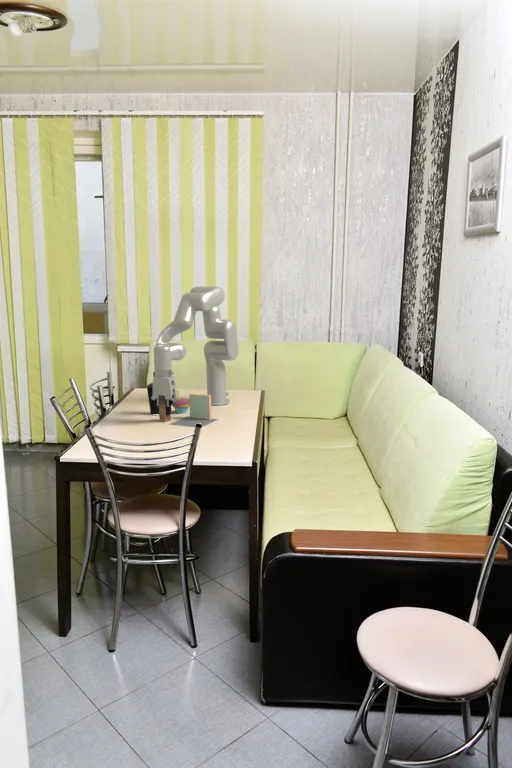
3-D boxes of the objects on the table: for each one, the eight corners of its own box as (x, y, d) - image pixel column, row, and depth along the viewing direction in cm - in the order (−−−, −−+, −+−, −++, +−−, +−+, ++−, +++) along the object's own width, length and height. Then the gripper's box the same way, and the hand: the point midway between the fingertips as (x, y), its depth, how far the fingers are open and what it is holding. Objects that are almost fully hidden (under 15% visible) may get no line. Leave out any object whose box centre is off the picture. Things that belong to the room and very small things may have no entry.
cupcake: (181, 416, 287) (180, 390, 284) (168, 414, 292) (167, 389, 289) (194, 412, 293) (193, 387, 291) (181, 410, 298) (180, 386, 296)
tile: (192, 417, 282) (191, 393, 280) (211, 419, 278) (210, 395, 276) (189, 418, 280) (188, 394, 278) (209, 420, 276) (208, 396, 274)
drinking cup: (161, 411, 297) (159, 370, 294) (165, 414, 290) (164, 372, 287) (146, 412, 295) (143, 371, 291) (149, 416, 288) (147, 373, 284)
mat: (187, 417, 284) (187, 416, 284) (218, 420, 278) (218, 419, 277) (168, 425, 270) (168, 424, 270) (200, 429, 263) (200, 427, 263)
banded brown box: (165, 420, 279) (163, 390, 277) (171, 421, 278) (170, 390, 275) (159, 422, 275) (158, 392, 272) (165, 423, 274) (164, 392, 271)
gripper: (183, 373, 272) (185, 414, 276) (152, 371, 279) (154, 411, 282) (174, 376, 266) (176, 417, 269) (142, 373, 272) (144, 414, 276)
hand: (165, 413), depth 276 cm, fingers closed on banded brown box, 3 cm apart
